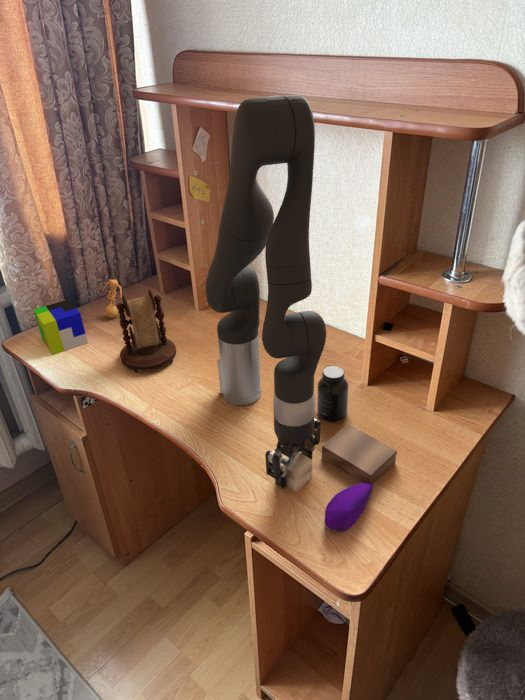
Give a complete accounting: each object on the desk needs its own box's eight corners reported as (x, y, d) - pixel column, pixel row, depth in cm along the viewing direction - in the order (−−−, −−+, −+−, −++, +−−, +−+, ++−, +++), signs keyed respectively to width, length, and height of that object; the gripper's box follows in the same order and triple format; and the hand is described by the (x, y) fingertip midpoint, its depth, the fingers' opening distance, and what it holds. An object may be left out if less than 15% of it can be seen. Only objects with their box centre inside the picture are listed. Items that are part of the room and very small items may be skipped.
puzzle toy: (88, 343, 153) (80, 312, 148) (52, 355, 149) (43, 324, 143) (76, 328, 160) (68, 299, 155) (42, 339, 156) (33, 309, 150)
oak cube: (276, 479, 108) (276, 461, 105) (292, 466, 111) (292, 448, 108) (295, 492, 105) (295, 474, 102) (311, 477, 108) (312, 459, 105)
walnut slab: (321, 459, 113) (322, 445, 110) (347, 437, 118) (348, 423, 116) (369, 489, 105) (370, 475, 103) (394, 464, 111) (396, 450, 108)
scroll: (128, 380, 137) (113, 312, 126) (116, 352, 149) (102, 287, 138) (183, 365, 142) (174, 298, 131) (168, 339, 154) (158, 275, 143)
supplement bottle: (327, 400, 128) (329, 358, 122) (352, 411, 124) (355, 369, 118) (311, 415, 124) (312, 373, 117) (336, 427, 120) (338, 384, 114)
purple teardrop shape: (384, 480, 102) (339, 524, 92) (380, 499, 104) (336, 544, 94) (362, 468, 105) (316, 509, 95) (359, 487, 107) (314, 529, 97)
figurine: (98, 316, 166) (90, 281, 159) (114, 308, 170) (106, 273, 163) (117, 323, 162) (109, 287, 155) (132, 315, 166) (125, 280, 159)
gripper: (302, 384, 105) (301, 446, 114) (252, 422, 96) (255, 486, 105) (334, 400, 101) (330, 463, 110) (284, 441, 92) (285, 506, 101)
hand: (294, 474), depth 107 cm, fingers open, 7 cm apart
